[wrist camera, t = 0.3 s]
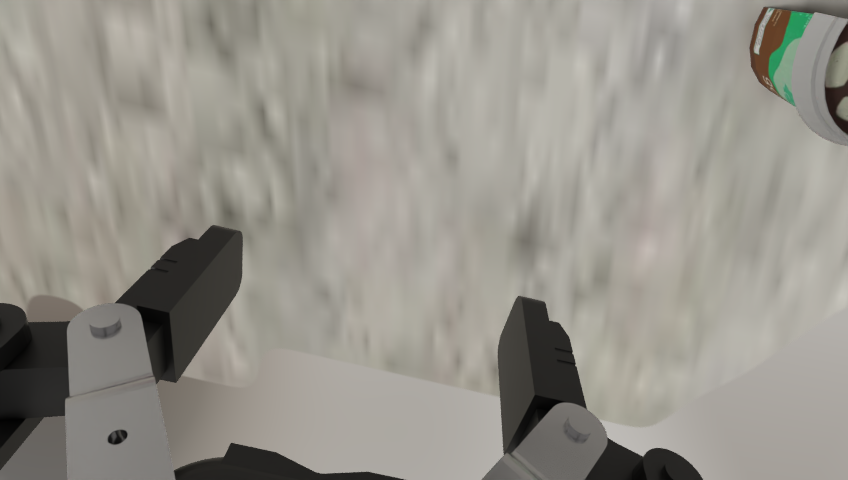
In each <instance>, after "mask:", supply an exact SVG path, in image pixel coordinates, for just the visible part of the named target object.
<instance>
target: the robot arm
mask: <svg viewBox="0 0 848 480" xmlns="http://www.w3.org/2000/svg"><path fill="white" fill-rule="evenodd" d="M242 247H243V237H242V233H241V231H238V230H233V229H229V228H225V227H220V226H216V225H212V226H211V227H210V228H209V229H208V230H207V231H206V232H205V233H204V234H203V235H202V236H201V237H200V238H199V239H198V240H197V239H192V238H188V239H186V240H184V241H182V242H180V243H178V244H176V245H173V246H172V247H171V248H170V249H169V250H168V251H167V252H166V253H165V254H164V255H163V256H162V257H161V258H160V260H158V261H157V262H156V263H155V264H154V265H153V266H152V267H151V269H150V270H148V271H147V272H146V273H145V274H144V275H143V276H141V277H140V278H139V279H138V280H137V281H136V282H135V283H134V284H133V285H132V286H131V287H130V288H129V289H128V290H127V291H126V292H125V293H124V294H123V295H122V296H121V297H120V298H119V299H118V300H117V301H116V302H115V303H108V304H102V305H97V306H94V307H91V308H89V309H86V310H84V311H82V312H81V313H79V314H78V315H76V316H75V317H74V318H73V319H72V320H71V321H67V322H28V321H27V317H26V314H25V312H24V311H23V310H22V309H21V308H19V307H18V306H15V305H12V304H6V303H0V470H1V469H2V467H3V466H4V465H5V464H6V463H7V461H8V460H9V459H10V458H11V456H12V455H13V454H14V453H15V452H16V451H17V449H18V448H19V447H20V446H21V444H22V443H23V442H24V441H25V440H26V438H27V437H28V436H29V435H30V433H31V432H32V431H33V430H34V429H35V428H36V426H37V425H38V424H39V423H40V421H41V420H42V419H43V418H44V417H52V416H65V420H66V449H67V477H68V480H404V479H399V478H395V477H390V476H385V475H380V474H375V473H371V472H353V473H332V474H320V473H316V472H314V471H312V470H310V469H308V468H306V467H304V466H302V465H300V464H298V463H296V462H294V461H292V460H290V459H288V458H286V457H284V456H282V455H280V454H278V453H276V452H271V451H267V450H262V449H257V448H253V447H248V446H243V445H239V444H234V443H231V444H230V446H229V448H228V450H227V452H226V454H225V456H224V457H221V458H211V459H205V460H201V461H197V462H194V463H191V464H188V465H185V466H183V467H180V468H178V469H176V470H173V465H172V460H171V455H170V450H169V445H168V440H167V435H166V430H165V425H164V420H163V415H162V410H161V406H160V401H159V395H158V391H157V386H156V384H157V383H158V382H159V380H165V381H170V382H175V383H176V382H177V381H178V379H179V378H180V377H181V375H182V374H183V372H184V371H185V369H186V368H187V366H188V365H189V363H190V362H191V360H192V359H193V357H194V356H195V355H196V353H197V352H198V350H199V349H200V347H201V346H202V344H203V343H204V341H205V340H206V338H207V337H208V335H209V334H210V332H211V331H212V330H213V328H214V327H215V325H216V324H217V322H218V321H219V319H220V318H221V316H222V315H223V313H224V312H225V310H226V309H227V308H228V306H229V305H230V303H231V302H232V300H233V299H234V297H235V296H236V294H237V292H238V290H239V287H240V284H241V279H242ZM572 352H573V351H572V347H571V343H570V339H569V336H568V335H567V334H566V332H565V331H564V329H563V328H562V326H561V325H560V324H559V323H557V322H553V321H549V318H548V313H547V308H546V304H545V302H544V301H539V300H535V299H531V298H526V297H522V296H518V297H517V298H516V300H515V302H514V305H513V307H512V310H511V312H510V314H509V317H508V319H507V322H506V324H505V326H504V329H503V331H502V334H501V337H500V341H499V346H498V368H499V385H500V401H501V418H502V434H503V450H504V456H503V457H502V458H501V459H500V460H499V461H498V462H497V463H496V464H495V465H494V467H493V468H492V469H491V470H490V471H489V472H488V473H487V474H486V475H485V477H484V478H483V479H482V480H703V479H702V477H701V476H700V474H699V473H698V471H697V470H696V469H695V468H694V467H693V466H692V465H691V464H690V463H689V462H688V461H687V460H685V459H684V458H683V457H681V456H680V455H678V454H676V453H674V452H672V451H670V450H667V449H662V448H654V449H651V450H649V451H648V452H647V453H646V454H645V455H644V456H643V457H642V456H640V455H638V454H636V453H634V452H632V451H631V450H628V449H627V448H625V447H623V446H621V445H618V444H617V443H615V442H613V441H612V440H610V439H609V438H608V437H607V434H606V431H605V428H604V427H603V425H602V423H601V422H600V421H599V419H598V418H597V417H596V416H595V415H594V414H592V413H591V412H590V411H588V410H587V408H586V404H585V400H584V396H583V391H582V387H581V383H580V379H579V375H578V371H577V367H576V366H575V364H576V363H575V359H574V355H573V354H572Z"/></svg>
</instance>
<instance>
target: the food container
mask: <svg viewBox="0 0 848 480" xmlns="http://www.w3.org/2000/svg"><path fill="white" fill-rule="evenodd" d="M847 22H848V19H844V18H839V17H836V16H832V15H827V14H822V13H817V12H815V13H814V14H810V13H803V12H796V11H789V10H782V9H775V8H768V7H764V8H763V10H762V12H761V14H760V16H759V18H758V20H757V22H756V24H755V27H754V31H753V35H752V39H751V43H750V58H751V67H752V69H753V71H754V73H755V75H756V77H757V79H758V81H759V82H760V83H761V84H762V85H764V86H765V87H766V88H767V89H768V90H770V91H771V92H773V93H774V94H776V95H778V96H779V97H781V98H782V99H784V100H786V101H787V102H789V103H790V104H792V105H793V106H795V107H796V109H797V111H798V113H799V115H800V116H801V118H802V120H803V121H804V123H805V124H806V125H807V126H808V127H809V128H810V129H811V130H812V131H813V132H815V133H816V134H818V135H819V136H821V137H822V138H824V139H826V140H829V141H831V142H833V143H837V144H841V145H846V146H848V24H847Z"/></svg>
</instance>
